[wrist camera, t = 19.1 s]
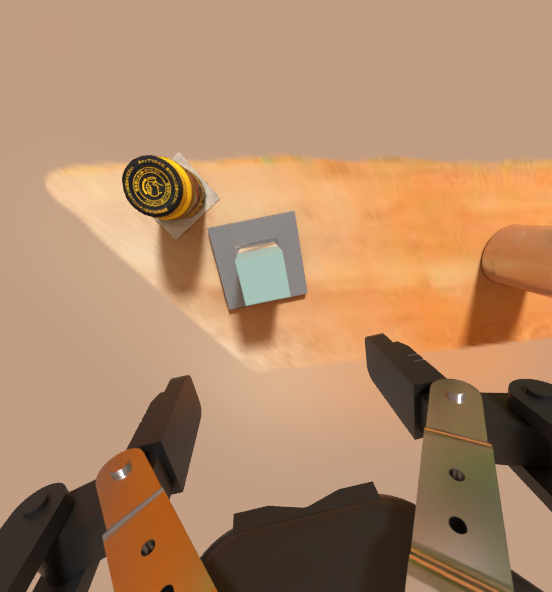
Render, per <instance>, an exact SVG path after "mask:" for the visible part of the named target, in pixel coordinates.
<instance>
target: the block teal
mask: <svg viewBox="0 0 552 592" xmlns="http://www.w3.org/2000/svg"><path fill="white" fill-rule="evenodd" d="M235 263H236V267H237V271H238V276H239V280H240V284H241V288H242V292H243V296H244V300H245V304H246V306H248V305H253V304H257V303H262V302H267V301H271V300H276V299H281V298H286V297H290V296H291V295H290V290H289V284H288V279H287V273H286V268H285V262H284V257H283V252H282V250H281V249H280V248H279V247H278V246H273V247H269V248H264V249H259V250H254V251H249V252H244V253H240V254H237V257H236V260H235Z"/></svg>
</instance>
